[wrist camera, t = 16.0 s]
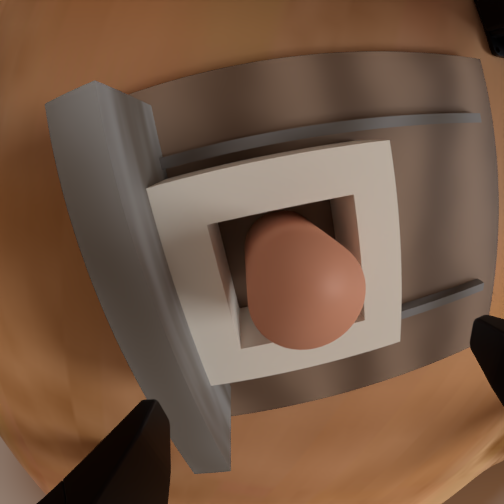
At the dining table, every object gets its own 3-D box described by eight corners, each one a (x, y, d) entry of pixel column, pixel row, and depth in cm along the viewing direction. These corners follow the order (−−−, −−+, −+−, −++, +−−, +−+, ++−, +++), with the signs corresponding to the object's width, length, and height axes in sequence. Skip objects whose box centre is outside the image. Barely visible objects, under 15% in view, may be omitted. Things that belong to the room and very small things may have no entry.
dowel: (313, 204, 16) (361, 227, 10) (322, 275, 17) (367, 336, 11) (238, 217, 16) (236, 249, 10) (251, 288, 18) (258, 358, 11)
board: (469, 61, 15) (553, 45, 7) (476, 333, 22) (530, 387, 14) (105, 108, 15) (20, 90, 8) (203, 408, 22) (195, 496, 15)
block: (355, 140, 15) (389, 140, 12) (373, 306, 19) (400, 341, 15) (167, 178, 16) (146, 188, 12) (214, 342, 19) (211, 385, 15)
